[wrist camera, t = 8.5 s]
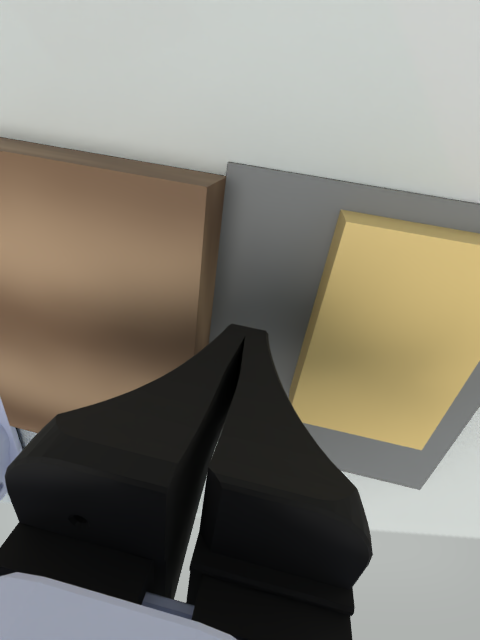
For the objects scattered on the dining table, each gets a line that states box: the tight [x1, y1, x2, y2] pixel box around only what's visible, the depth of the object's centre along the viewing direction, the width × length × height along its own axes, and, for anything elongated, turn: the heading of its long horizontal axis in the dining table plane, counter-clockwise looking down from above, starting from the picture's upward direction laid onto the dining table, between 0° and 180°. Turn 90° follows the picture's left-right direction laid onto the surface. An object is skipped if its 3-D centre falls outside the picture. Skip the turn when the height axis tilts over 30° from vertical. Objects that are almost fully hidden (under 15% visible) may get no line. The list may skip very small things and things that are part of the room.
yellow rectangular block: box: [289, 210, 480, 450], centre depth 13 cm, size 9×6×2 cm, turn 172°
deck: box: [0, 137, 226, 433], centre depth 15 cm, size 14×10×3 cm
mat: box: [209, 162, 480, 490], centre depth 15 cm, size 15×13×1 cm
